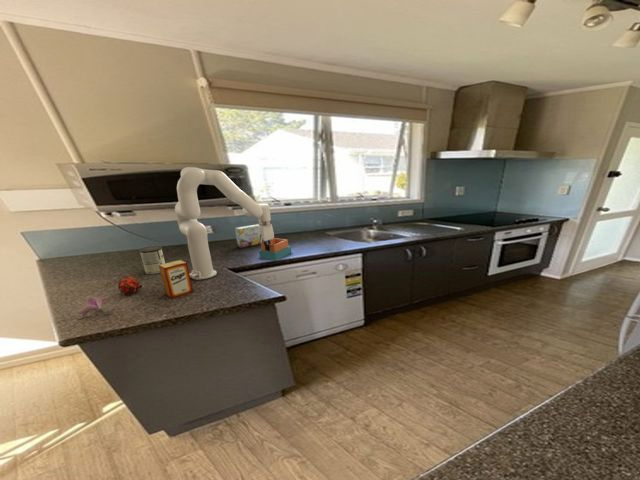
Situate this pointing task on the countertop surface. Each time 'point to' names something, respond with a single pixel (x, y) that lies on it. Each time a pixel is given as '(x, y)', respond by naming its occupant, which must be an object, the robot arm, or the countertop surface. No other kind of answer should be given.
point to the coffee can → (152, 259)
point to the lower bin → (275, 253)
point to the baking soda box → (176, 278)
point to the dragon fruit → (129, 285)
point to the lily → (93, 304)
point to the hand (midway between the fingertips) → (268, 250)
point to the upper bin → (276, 245)
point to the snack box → (247, 236)
